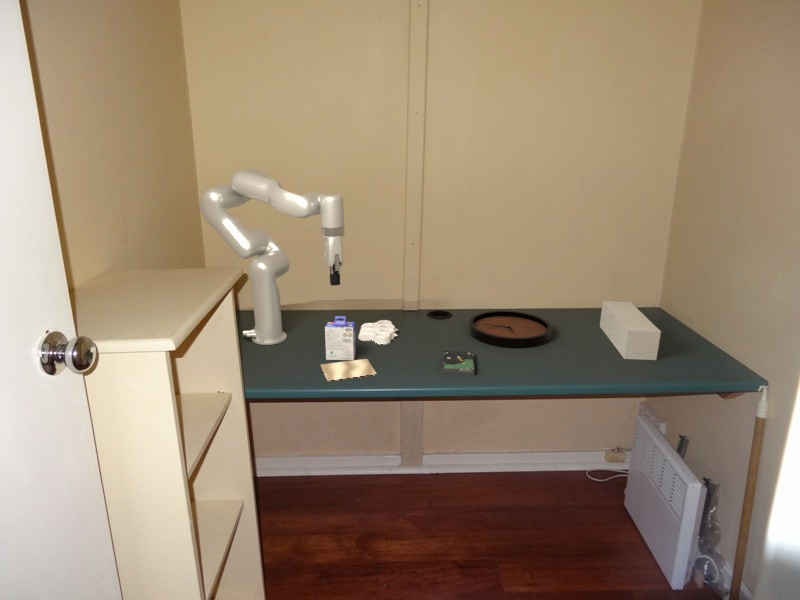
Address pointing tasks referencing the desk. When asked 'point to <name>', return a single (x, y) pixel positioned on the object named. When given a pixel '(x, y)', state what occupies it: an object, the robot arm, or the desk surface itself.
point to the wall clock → (510, 329)
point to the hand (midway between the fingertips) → (335, 284)
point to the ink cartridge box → (340, 340)
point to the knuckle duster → (378, 332)
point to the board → (347, 369)
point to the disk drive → (458, 363)
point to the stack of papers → (630, 330)
